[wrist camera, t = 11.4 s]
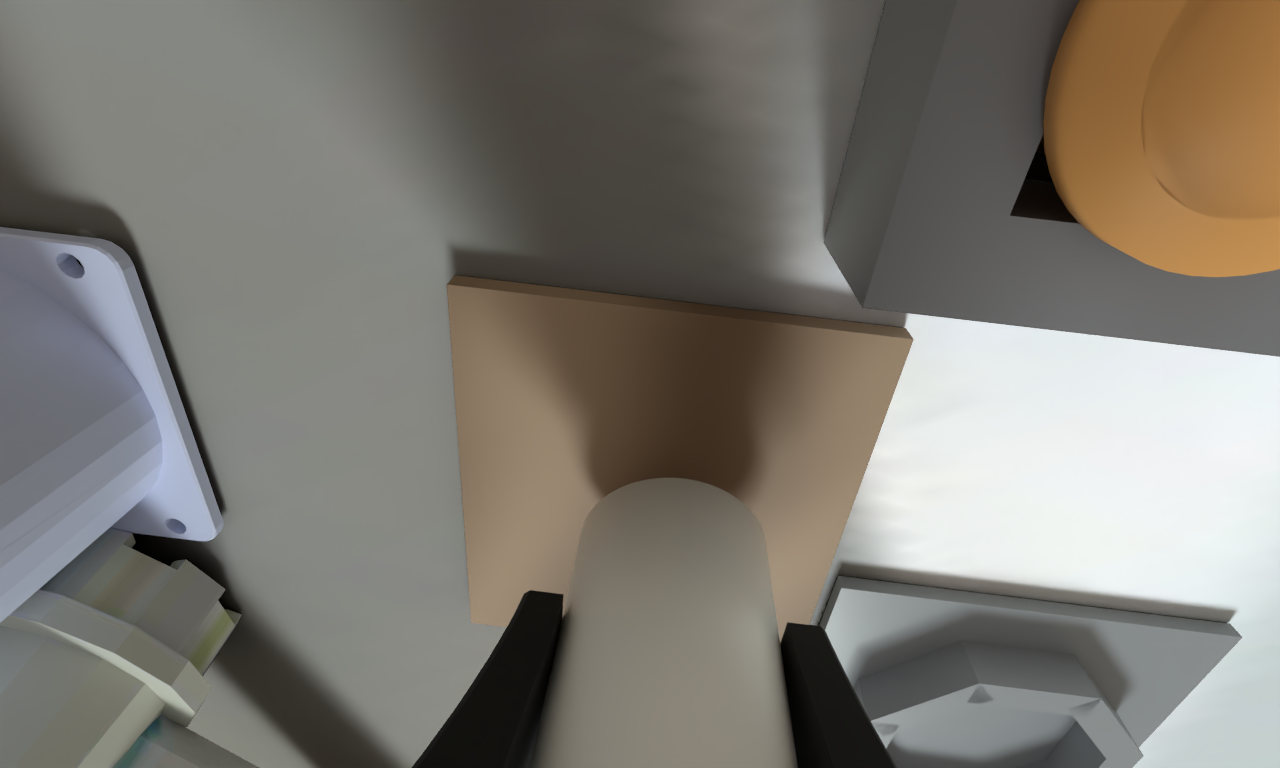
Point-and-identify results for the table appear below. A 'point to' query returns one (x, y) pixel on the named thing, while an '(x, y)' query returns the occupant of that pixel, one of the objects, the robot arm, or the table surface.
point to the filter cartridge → (668, 639)
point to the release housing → (1000, 195)
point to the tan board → (655, 425)
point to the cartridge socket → (1013, 674)
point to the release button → (1171, 131)
